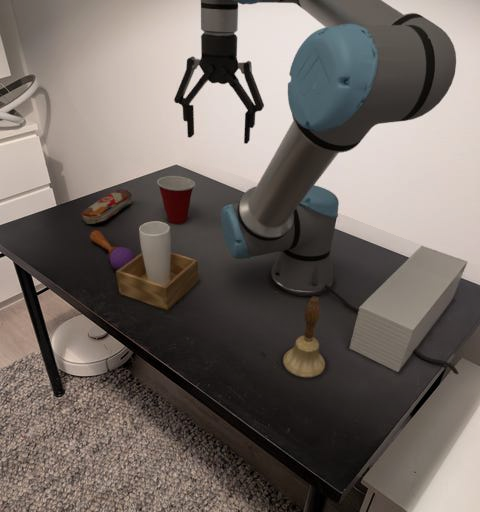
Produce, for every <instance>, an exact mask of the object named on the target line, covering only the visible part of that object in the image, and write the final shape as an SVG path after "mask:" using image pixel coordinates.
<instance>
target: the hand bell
mask: <svg viewBox="0 0 480 512" xmlns="http://www.w3.org/2000/svg"><path fill="white" fill-rule="evenodd" d="M320 315H321V305H320V301H319V297H318V296H311V298H310V300H309V302H308V303H307V305H306V308H305V311H304V321H305V330H304V335H301V336H299V337H298V338H297V339H296V340H295V343H294V345H293V347H292V348H290V349H289V350H288V351H286V352H285V353H284V355H283V358H282V364H283V366H284V368H285V369H286V370H287V371H288V372H289V373H290V374H292V375H294V376H296V377H300V378H305V379H307V378H308V379H309V378H314V377H317V376H319V375H321V374H322V373H323V372H324V370H325V368H326V361H325V359H324V357H323V355H322V354H321V353H320V343H319V341H318V339H316V338H315V337H314V333H315V327H316V325H317V323H318V321H319V319H320Z"/></svg>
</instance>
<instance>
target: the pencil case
mask: <svg viewBox="0 0 480 512" xmlns="http://www.w3.org/2000/svg"><path fill="white" fill-rule="evenodd" d="M132 195H133V193H132V192H131V191H130V190H128V189H125V188H124V189H123V188H122V189H121V188H120V189H117V190H116V191H113V192H111V193H109V194H107V195H106V196H104V197H102V198H100V199H99V200H97V201H96V202H94V203H93V204H92V205H90V206H88V207H87V208H85V209H84V210H83V211H82V212H81V213H80V214H81V217H82V220H83V221H84V222H85V223H86V224H87V225H95V224H100V223H103V222H106V221H107V220H108V219H110V218H111V217H113V216H115V215H116V214H117V213H119V212H120V211H122V210H124V208H126V207H128V206H129V205H131V204H132V201H133V200H132V199H131V198H132Z"/></svg>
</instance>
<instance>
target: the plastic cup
mask: <svg viewBox="0 0 480 512" xmlns="http://www.w3.org/2000/svg"><path fill="white" fill-rule="evenodd" d="M156 183H157V185H158V187H159V192H160V194H161V199H162V203H163V204H162V205H163V208H164V211H165V215H166V219H167V221H168V223H170V224H172V225H173V224H174V225H181V224H185V223H186V222H187V221H188V217H189V212H190V204H191V198H192V193H193V189H194V188H195V187H196V182H195V181H194V180H193V179H191V178H189V177H185V176H179V175H168V176H167V175H166V176H162V177H160V178H158V179H157V181H156Z"/></svg>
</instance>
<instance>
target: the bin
mask: <svg viewBox="0 0 480 512" xmlns="http://www.w3.org/2000/svg"><path fill="white" fill-rule="evenodd" d="M198 261H199V260H198V259H196V258H192V257H188V256H186V255H182V254H179V253H176V252H172V251H171V267H170V279H171V281H170V282H169V283H168V284H167V285H165V286H164V285H161V284H158V283H155V282H152V281H149V280H147V274H146V269H145V264H144V260H143V255H142V252H141V253H139V254H138V255H136V256H134V259H132V260H131V261H130V262H128V263H127V264H126V265H124V266H123V267H122V268H120V269H119V270H115V274H116V280H117V286H118V287H117V288H118V294H119V295H122V296H124V297H128V298H131V299H134V300H136V301H139V302H143V303H144V304H145V303H146V304H148V305H149V306H150V305H151V306H154V307H156V308H160V309H161V310H164V311H169V310H170V309H171V308H172V307H173V306H174V305H175V304H176V303H177V302H179V301H180V300H181V298H183V297H184V296H185V295H186V294H187V293H188V292H189V291H190V290H191V289H192V288H193V287H194V286H196V284H197V283H198V282H199V262H198Z"/></svg>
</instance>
